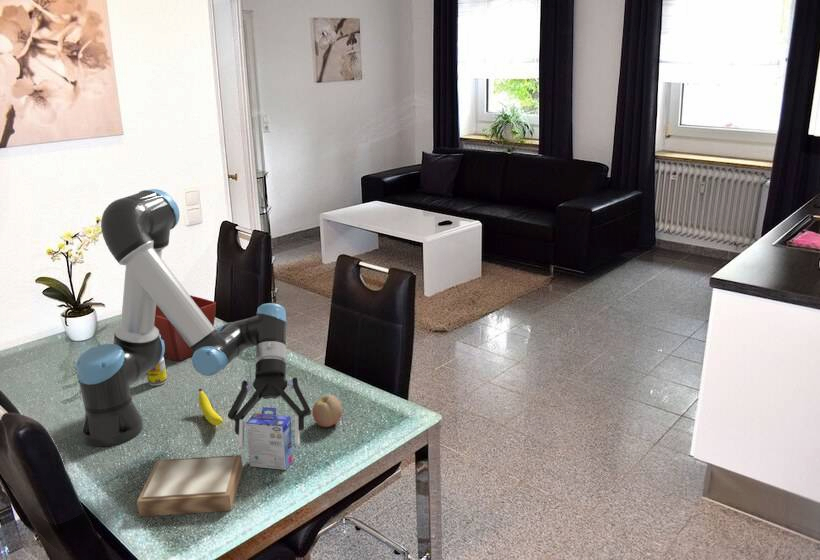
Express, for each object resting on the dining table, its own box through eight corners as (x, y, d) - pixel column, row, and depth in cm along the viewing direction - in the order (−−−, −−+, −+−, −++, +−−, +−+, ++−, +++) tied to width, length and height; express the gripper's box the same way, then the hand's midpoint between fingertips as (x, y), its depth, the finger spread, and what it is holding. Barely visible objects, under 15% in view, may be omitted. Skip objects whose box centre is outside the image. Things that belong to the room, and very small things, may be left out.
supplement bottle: (144, 384, 214) (139, 354, 211) (156, 377, 219) (152, 347, 216) (159, 387, 212) (154, 356, 209) (171, 379, 217) (166, 349, 214)
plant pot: (188, 336, 250) (181, 292, 245) (223, 347, 239) (217, 301, 234) (141, 355, 236) (133, 308, 230) (176, 368, 225) (169, 320, 219)
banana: (218, 438, 183) (215, 417, 181) (197, 409, 198) (194, 389, 196) (228, 435, 184) (226, 414, 182) (207, 406, 200) (204, 387, 198)
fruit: (310, 420, 190) (307, 394, 188) (337, 414, 193) (336, 388, 191) (318, 434, 183) (315, 407, 181) (347, 427, 186) (345, 401, 184)
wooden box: (139, 516, 153) (136, 500, 152) (159, 474, 168) (156, 459, 167) (231, 510, 154) (229, 494, 153) (242, 469, 169) (240, 453, 168)
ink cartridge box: (295, 458, 173) (290, 406, 169) (287, 471, 168) (282, 418, 163) (258, 454, 175) (252, 403, 170) (249, 467, 170) (243, 415, 165)
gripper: (218, 360, 173) (213, 445, 163) (318, 354, 174) (319, 438, 165) (224, 370, 179) (220, 452, 170) (320, 364, 181) (322, 446, 171)
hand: (269, 446), depth 167 cm, fingers open, 13 cm apart
